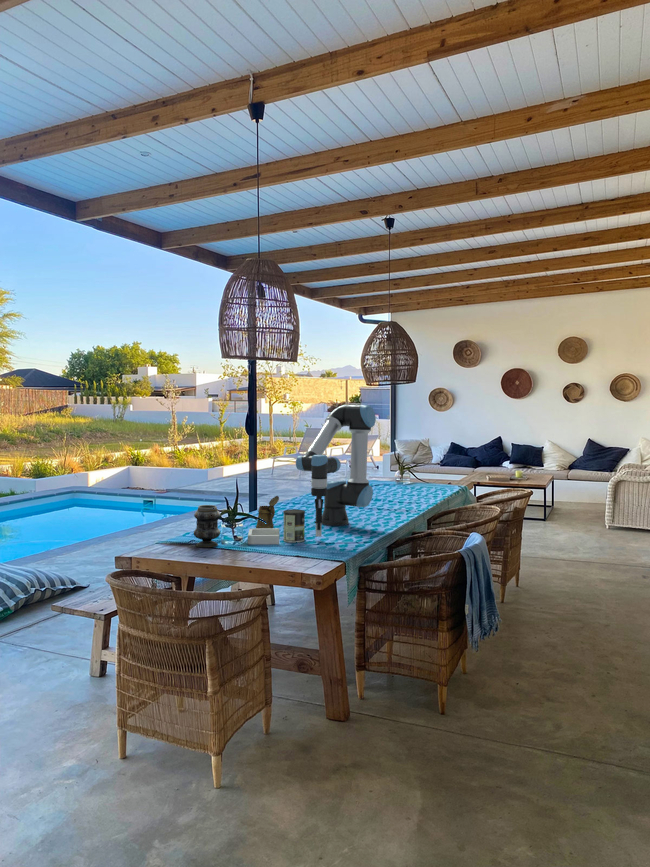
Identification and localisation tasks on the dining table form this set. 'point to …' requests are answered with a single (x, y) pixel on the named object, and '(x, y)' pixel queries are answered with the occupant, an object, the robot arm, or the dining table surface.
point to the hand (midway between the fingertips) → (318, 536)
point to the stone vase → (207, 525)
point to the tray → (263, 536)
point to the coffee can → (294, 525)
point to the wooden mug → (267, 514)
